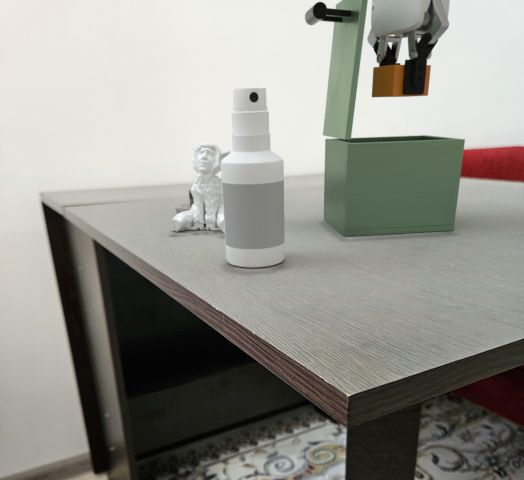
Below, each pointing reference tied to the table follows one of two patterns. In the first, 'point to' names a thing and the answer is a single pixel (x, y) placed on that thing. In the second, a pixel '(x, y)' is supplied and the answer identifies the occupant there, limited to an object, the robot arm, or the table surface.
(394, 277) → the table surface
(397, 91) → the orange rectangular block
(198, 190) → the sitting furry creature
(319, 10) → the bin lid
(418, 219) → the trash bin
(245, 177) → the spray bottle
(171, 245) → the table surface
